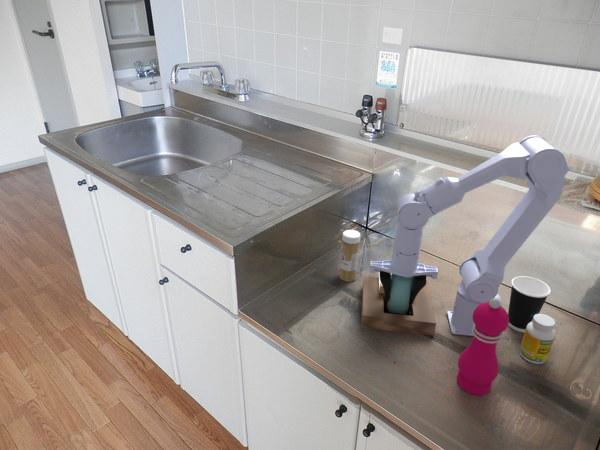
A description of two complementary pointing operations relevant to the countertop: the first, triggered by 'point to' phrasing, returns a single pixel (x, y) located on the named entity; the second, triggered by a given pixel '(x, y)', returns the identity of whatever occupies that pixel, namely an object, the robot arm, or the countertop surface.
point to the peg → (399, 294)
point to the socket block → (377, 319)
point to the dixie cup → (526, 301)
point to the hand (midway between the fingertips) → (398, 300)
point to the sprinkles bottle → (349, 255)
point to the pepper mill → (482, 349)
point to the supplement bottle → (538, 339)
